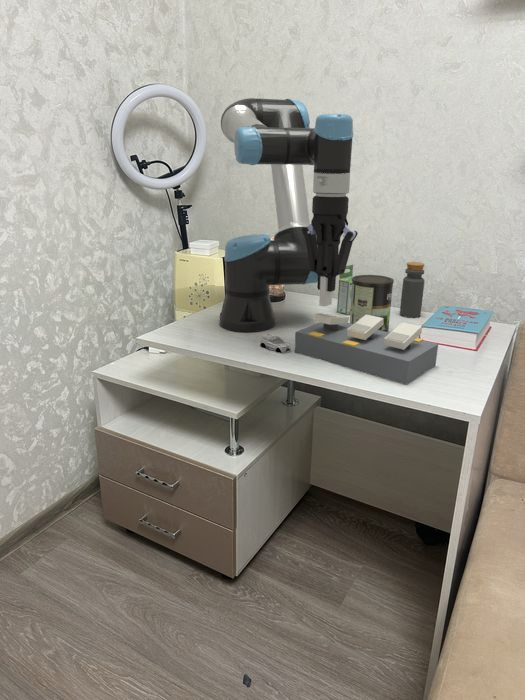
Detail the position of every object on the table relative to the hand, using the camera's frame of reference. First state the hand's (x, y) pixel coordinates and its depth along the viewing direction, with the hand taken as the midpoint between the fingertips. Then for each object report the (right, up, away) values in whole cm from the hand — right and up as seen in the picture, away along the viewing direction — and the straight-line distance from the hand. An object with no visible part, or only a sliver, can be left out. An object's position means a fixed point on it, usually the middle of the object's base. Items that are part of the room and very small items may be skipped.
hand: (325, 304), depth 118 cm
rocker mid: (+9, -5, -2) cm, 10 cm away
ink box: (+11, +1, +37) cm, 39 cm away
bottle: (+29, 0, +35) cm, 45 cm away
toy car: (-11, -10, +7) cm, 16 cm away
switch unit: (+9, -12, +1) cm, 15 cm away
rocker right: (+16, -7, -7) cm, 18 cm away
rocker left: (+2, -3, +4) cm, 5 cm away
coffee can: (+13, -6, +19) cm, 24 cm away
